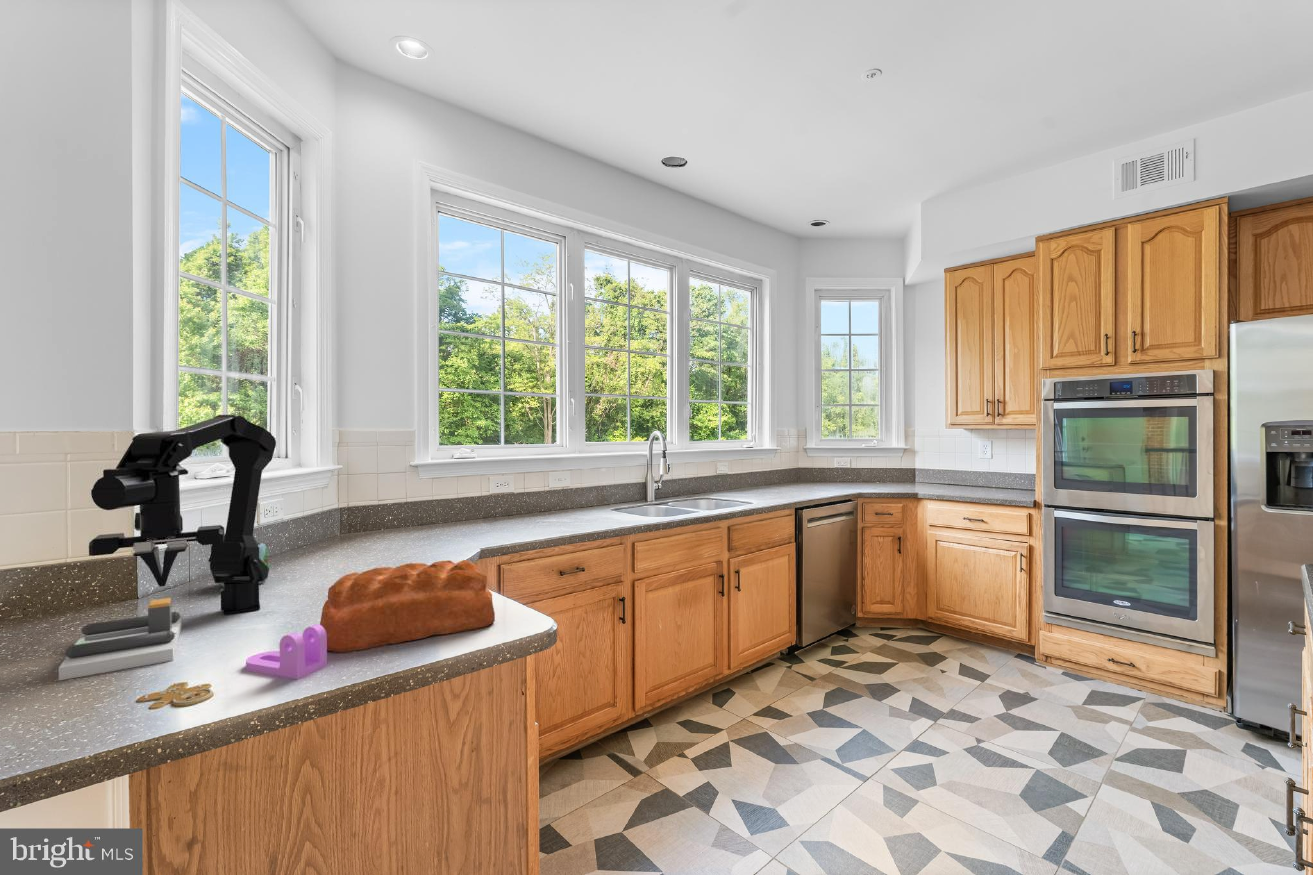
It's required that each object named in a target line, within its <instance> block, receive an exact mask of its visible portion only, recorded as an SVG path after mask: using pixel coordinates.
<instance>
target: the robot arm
mask: <svg viewBox="0 0 1313 875" xmlns="http://www.w3.org/2000/svg"><path fill="white" fill-rule="evenodd" d="M219 440H220V442H221V443H222V444H223V445H224V446H226V447H227V448H228V457H229V460H230V461H231V463H232V466H233V467H234V474H233V475H234V476H233V483H232V489H231V493H230V494H231V495H230V502H229V509H228V514H227V515H228V516H227V520H226V527H224V526H223V525H221V524H217V525H206V526H205V525H204V526H199V527H198V528H197V531H183V530H184V526H183V525H184V524H183V520H184V518H183V516H182V514H181V497H180V495H181V493H180V476H184V475H188V474H189V470H187V469H186V468H185V467H182V466H181V464H180V463H182V462H183V461H184V460H187V458H189V457H191V456H192V454H193V452H194V451H195V450H196V449H197V448H201V447H202V446H205V445H208V444H210V443H213V442H215V441H219ZM276 446H277V440H276V438H275V437H274V435H273V434H272V433H271V432H270V431H268V430H267V429H266V428H264V427H262V426H260V425H258V424H255V423H254V422H250V421H249V420H248V419H246V418H245V417H244V416H242V415H240V414H218V415H216V416H213V418H208V419H206V420H204V421H200V422H196V423H194V424H190V425H187V426H184V427H182V428H179V429H175V430H169V431H168V430H167V431H152V432H144V433H143V432H142V433H139V434H136V435H135V436H133V438H132V441H131V443H130V445H129V446H128V447H127V449H126V451H125V452H124V454H123V456H122V458H121V459H120V460H119V462H118V463H117V465H116V467H115V468H109V469H108V468H107V469H103V470H102V471H103V473H102V477H100V478H99V479H97V480H96V481H95V483H94V485H93V487H92V489H90V490H91V491H90V495H91V498H92V502H93V503H94V504H95V505H96V507H98V508H99V509H102V510H106V511H113V510H118V509H124V508H125V509H126V508H130V507H136V506H139V512H135V513H134V514H135V515H134V523H133V524H134V525H133V527H134V529H135V531H138V532H140V534H139V535H140V536H139V535H137V536H125V533H124V532H121V533H120V532H119V533H108V534H107V533H106V534H98V535H97V536H96V537H94V538H93V539H91V541H89V543H88V556H89V557H90V556H91V557H92V556H93V557H94V556H105V555H113V554H115V552H117V551H118V550H119V549H124V548H133V550H134V552H133V553H132V557H139V558H141V560H142V561H143V562H144V563H145V565H146V566H147V567H148V568H149V570H150V572H151V574H152V576H153V577H154V579H155V581H156V583H157V585H158V587H159V588H161V587H165V586H166V585H167V581H168V580H169V577H170V576H169V575H170V573H171V570H172V567H173V564H174V563H175V560H176V559H177V558H176V557H177V556H178V555H179V553H184V552H186V551H187V549H188V545H189V544H188V543H190V542H191V543H193V542H197V543H198V544H200V545H201V546H209V545H210V546H211V547H210V555H209V558H208V563H209V570H210V571H211V575H212V578H213V580H214V583H215V584H219V583H224V587H223V588H221V589H220V611H223V615H230V614H237V613H244V612H251V611H252V612H253V611H258V610H261V604H260V584H259V582H261V581H264V582H265V581H266V580H267V579H268V578H269V577H268V572H269V573H270V571H269V569H270V567H269V568H268V567H267V566H266V565H265V564H264V563H263V561H262V560H261V559H260V558H259V546H258V544H257V543H256V542H257V540H256V539H255V537H254V529H255V522H256V515H257V509H258V508H257V507H258V499H259V495H260V487H261V480H262V473H263V470H265V468H266V467H267V466H268V464H269V463H270V462H272V460H273V457H274V453H275V449H276ZM159 545H166V548H165V550H164V553H163V563H162V566H161V560H160V552H159ZM267 577H268V578H267ZM265 579H266V580H265Z"/></svg>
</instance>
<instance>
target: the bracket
mask: <svg viewBox="0 0 1313 875" xmlns="http://www.w3.org/2000/svg"><path fill="white" fill-rule="evenodd" d="M326 667H328V650H327V634H326V631H325V629H324V628H323V627H322V626H321V625H320V623H318V624H317V623H316V624H314V625H311V626H308V627H306V628H304V630H303V632H302V635H301V634H300V633H298V632H296V631H295V632H292V633H288V634H286V635H284V636H282V637H281V638H280V641H279V650H272V651H271V650H270V651H264V652H259V653H256V654H253V655H251V656H249V657H247V659H246V660H245V668H246V669H245V670H246V671H248V670H249V672H254V673H258V672H259V674H265V675H271V676H275V677H276V676H277V677H281V678H287V679H293V680H300V679H302V678H304V677H306V676H308V675H311V674H313V673H315V672H317V671H319V670H321V669H324V668H326Z"/></svg>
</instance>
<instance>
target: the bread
mask: <svg viewBox="0 0 1313 875" xmlns="http://www.w3.org/2000/svg"><path fill="white" fill-rule="evenodd" d="M487 585H488V576H487V575H485V573H484V574H483V573H482V571H481V569H480V567H478V566H477V565H476V564H475V563H474V562H472V561H471V560H466V559H463V560H460V561H458V562H457V561H456V562H453V561H452V560H440V561H434V562H433V563H431V564H430V565H429V564H427V563H421V562H420V563H419V562H415V563H414V562H409V563H405V564H402V565H398V566H395V567H391V566H387V567H374V568H372V569H369V570H365V571H362V572H361V573H359V572H351V573H348V574H345V575H344V576H342V577H340V578H339V579H338V580H336V581H335V582H334V583H333V585H331V586H330V587H328V590H327V591H328V592H327V600H326V601H325V602H324V605H323V607H322V610H321V617H320V621H319V625H321V626H322V627H323V628H324V629H325V631H326V634H327V651H330V652H336V653H348V652H354V651H361V650H366V649H371V648H376V647H381V646H382V647H383V646H386V645H392V644H398V643H404V642H409V641H415V640H419V639H425V638H427V637H430V636H436V635H447V634H453V633H454V634H456V633H463V632H466V631H472V630H476V629H481V628H485V627H487V626H490V625H492V624H493V623H494V622H495V621H496V619H495V614H496V613H495V612H496V611H495V608H494V604H493V594H492V592H491V591H490V589H489V588H488V587H487Z"/></svg>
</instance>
